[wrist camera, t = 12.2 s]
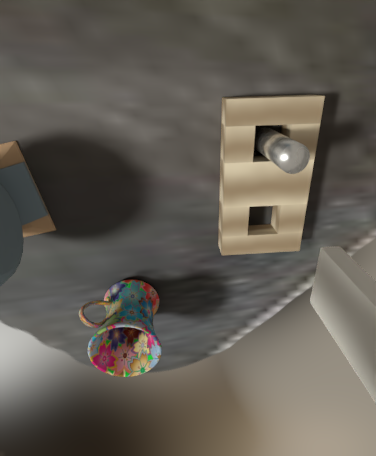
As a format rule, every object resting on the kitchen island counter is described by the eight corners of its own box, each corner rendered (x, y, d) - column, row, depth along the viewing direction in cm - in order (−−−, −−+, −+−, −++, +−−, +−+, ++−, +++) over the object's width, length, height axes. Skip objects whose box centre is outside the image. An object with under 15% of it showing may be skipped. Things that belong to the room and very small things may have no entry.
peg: (253, 127, 38) (281, 143, 29) (276, 126, 38) (312, 142, 29) (251, 152, 39) (277, 174, 30) (274, 151, 39) (307, 173, 30)
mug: (173, 294, 48) (176, 347, 39) (138, 328, 51) (132, 386, 42) (111, 253, 44) (96, 302, 35) (75, 293, 47) (53, 348, 37)
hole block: (222, 97, 36) (226, 98, 33) (313, 94, 36) (324, 96, 34) (218, 244, 45) (221, 255, 42) (291, 240, 45) (299, 250, 43)
